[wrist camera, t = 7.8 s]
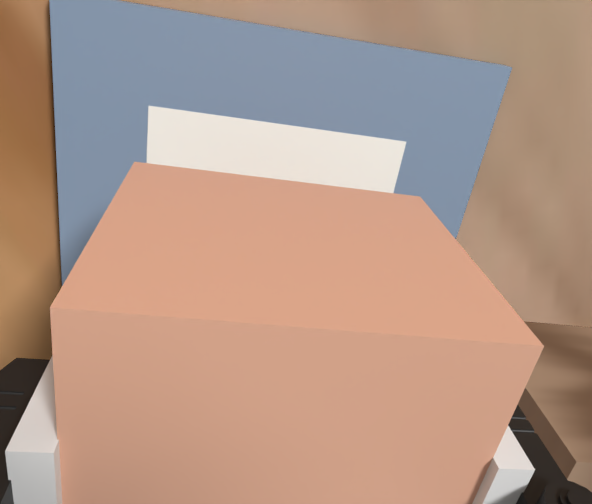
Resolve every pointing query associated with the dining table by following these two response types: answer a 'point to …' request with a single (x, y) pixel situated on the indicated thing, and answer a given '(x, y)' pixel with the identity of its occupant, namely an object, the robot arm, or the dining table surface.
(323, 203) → the terracotta base
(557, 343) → the walnut column
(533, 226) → the dining table surface
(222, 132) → the board
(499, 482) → the robot arm
